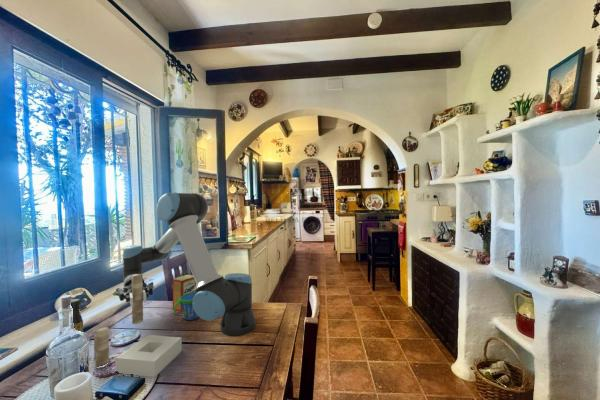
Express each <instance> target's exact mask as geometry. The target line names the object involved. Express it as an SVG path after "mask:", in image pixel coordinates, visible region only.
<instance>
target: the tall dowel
mask: <svg viewBox="0 0 600 400" xmlns="http://www.w3.org/2000/svg"><path fill="white" fill-rule="evenodd" d="M143 279H144V277H143V273H142V274H135V275H132V295H133V305H131V322H132V325H137V324H138V325H139V324H142V323H143V322H144V301H143Z"/></svg>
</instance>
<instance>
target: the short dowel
mask: <svg viewBox="0 0 600 400" xmlns="http://www.w3.org/2000/svg"><path fill="white" fill-rule="evenodd" d="M95 359H96V334H94V335H93V360H95Z"/></svg>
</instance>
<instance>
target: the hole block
mask: <svg viewBox="0 0 600 400" xmlns="http://www.w3.org/2000/svg"><path fill="white" fill-rule="evenodd" d="M182 341H183V339H182V337H178V336H166V335H155V334H154V335H153V334H147V335H146V336H144V337H142V338H141V339H140V340H139V341H137V342H135V343H134V344H132V345H131V346H130V347H129V348H128V349H126V350H124V351H122V353H120V354H118V355H117V356H115V358H114V359H115V360H114V361H115V364H114V365H115V369H114V370H117V371H118V372H119V373H123V374H122V375H127V374H134V375H133V376H136V375H138V376H139V377H146V376H147V377H148V378H155V377H157V376H158V375H159V374H160V373H161V372H162V371H163V370H164V369H165V368H166V367H167V366H168V365H169V364H170V363H171V362H172V361H173V360H174V359H176V358H177V356H178V355H179V354H180V353H182V352H183V351H182V350H183V349H182V348H183V347H182V345H183V343H182Z"/></svg>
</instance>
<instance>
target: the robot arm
mask: <svg viewBox="0 0 600 400" xmlns="http://www.w3.org/2000/svg"><path fill="white" fill-rule="evenodd" d="M208 211H209V205H208V200H206V198H205V197H204V196H202V194H199V193H195V192H194V193H193V192H192V193H189V192H188V193H187V192H186V193H185V192H174V191H173V192H166V193H164V194H162V195H161V197H160V198H159V199H158V201H157V205H156V215H157V217H158V219H159V220H160V221H162V222H167V225H168V228H169V229H167V230H166V231H165V233H164V234H163V235H162V236H161V237H160V239H158V241H157V242H156V243H155V244H154V245H153V246H149V247H144V248H143V246H142V245H139V244H138V245H129V246H125V247H124V248H123V252H122V262H123V263H122V265H123V270H122V273H123V275H122V276H123V277H122V282H123V287H121V288H120V287H118V288H116V289H115V295H116V296H118V299H119V301H120V302H123V301H124V300H125V302H126V303H129V305H130V306H132V305H133V295H132V275H135V274H142V275H143V265H145V264H149V263H153V262H158V261H162V260H165V259H167V258H169V257H170V256H171V252H172V249H173V248H174V246H176V245H177V244H178V243H179V244H180V245H181V248H182V252H183V254H184V255H185V256H184V257H185V259H186V261H187V263H188V265H189V270H190V272H191V275H193V277H194V279H195V282H196V287H195V289H194V291H195V296H194V297H193V303H192V304H193V309H194V311H195V313H196V314H197V315H198V316H199V317H198V318H200V319H201V320H204V321H208V322H210V321H214V320H216V319H219V318H221V317H222V319H221V321H220V331H221V333H222V334H224V335H227V336H241V335H246V334H248V333H251V332H252V331H253V330H254V329H255V328H256V325H257V323H256V317H255V313H254V310H253V306H252V305H253V304H252V303H253V301H252V298H253V297H252V296H253V295H252V292H253V291H252V290H253V289H252V286H253V282H252V276H251V275H250V274H247V273H240V272H239V273H233V272H232V273H228V274H225V275H222V274H218V271H217V268H216V267H215V264H214V261H213V260H212V257H211V255H210V252H209V250H208V248H207V245H206V243H205V239H204V238H203V236H202V233H201V230H200V228H199V226H198V225H199V223H201V222H202V220H204V218H205V217H206V216H207V214H208ZM153 289H154V282H153V281H152V282H149V283H146V282H145V280H144V278H143V303H147V298H149V296H152V295H154V290H153Z"/></svg>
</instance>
